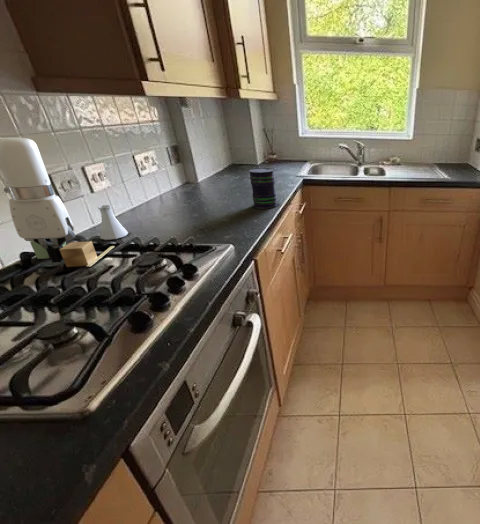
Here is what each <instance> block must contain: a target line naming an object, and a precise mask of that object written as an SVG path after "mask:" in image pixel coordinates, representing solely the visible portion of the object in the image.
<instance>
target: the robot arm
mask: <svg viewBox="0 0 480 524" xmlns="http://www.w3.org/2000/svg"><path fill="white" fill-rule="evenodd" d="M0 171H1V174H2V176H3V178H4V181H5V183H6V185H7V186H6V187H4V188H3V192H4V193H5V194H10V196H11V198H9V199H8V205H9V211H10V216H11V219H12V222H13V223H12V224H13V226H14V228H15V231H16V233H17V235H18V237H19V238H21V239H23V240H24V241H26V242H36V243H38V244H40V245H41V246H42V248H44V249H46V250H47V253H48V255H49V258H48V259H50V260H51V263H52V264H53V263H61V262H63V261H64V259H63V257H62V255H61V252H60V249H61V248H63V244H64V243H65V242H67V241H72V240H74V239H76V238H77V235H76V234H75V232H74V231H75V227H74V223H73V220H72V218H71V216H70V214H69V212H68V210H67V208H66V206H65V204H64V202H63V201H62V199H61V198H60V196H59V195H56V194H55V191H54V188H53V185H52V183H51V180H50V177H49V175H48V174H49V173H48V172H47V169H46V166H45V163H44V161H43V157H42V155H41V152H40V150H39V147H38V145H37V143H36V142H35V141H34V140H33V139H31V138H27V137H0Z"/></svg>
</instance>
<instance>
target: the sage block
mask: <svg viewBox="0 0 480 524" xmlns="http://www.w3.org/2000/svg"><path fill="white" fill-rule="evenodd" d="M29 243H30V246H31V248H32V251H33V252H34V254H35V257H36V259H37V260H44V259H50V258H49V255H48V253H47V250H46V249H44V248H42V246H41V245H40V244H38V243H36V242H31V241H29ZM66 245H67V241H65V243H64V244H63V247H64V246H66Z"/></svg>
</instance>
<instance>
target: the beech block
mask: <svg viewBox="0 0 480 524" xmlns="http://www.w3.org/2000/svg"><path fill="white" fill-rule="evenodd" d="M60 252H61V255H62V257H63V259H64V260H63V261H64V265H65V266H66V267H67V268H72V267H83V266H84V267H86V266H87V265H88V264H90V263H91V262H92V261H93V260H95V259H96V258H97V257H98V255H97V252H96V249H95V246H94V244H93V241H92V240H90V241H73V242H69V243H66V246H64V247H63V248H61V249H60Z"/></svg>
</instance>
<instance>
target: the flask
mask: <svg viewBox="0 0 480 524" xmlns="http://www.w3.org/2000/svg"><path fill="white" fill-rule="evenodd" d="M97 209H98V210H99V211H100V217H101V222H100V225H101V226H100V232H99V239H101V240H105V241H107V240H118V239H120V238H123V237H126V236H127V235H128V234H129V232H128V230H126V228H125V227H124V226H123V225H122V224H121V223H120V221H119V220H118V219H117V218H116V216H115V215H114V212H113V210H112V205H110V204H105V205H104V204H103V205H100V206H98V207H97Z"/></svg>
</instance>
